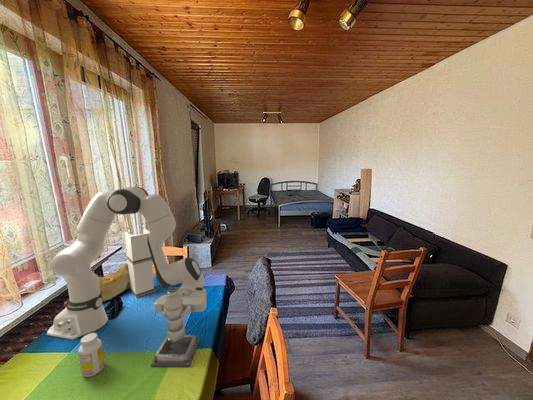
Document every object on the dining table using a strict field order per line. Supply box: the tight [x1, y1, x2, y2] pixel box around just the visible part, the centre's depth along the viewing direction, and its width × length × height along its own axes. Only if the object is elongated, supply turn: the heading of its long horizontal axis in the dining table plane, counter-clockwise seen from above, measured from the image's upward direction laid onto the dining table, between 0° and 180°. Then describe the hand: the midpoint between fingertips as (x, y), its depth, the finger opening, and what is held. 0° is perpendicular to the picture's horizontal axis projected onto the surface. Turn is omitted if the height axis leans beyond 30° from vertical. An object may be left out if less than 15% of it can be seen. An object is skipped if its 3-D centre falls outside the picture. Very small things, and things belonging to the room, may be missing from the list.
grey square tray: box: [150, 334, 201, 368], centre depth 92 cm, size 14×13×3 cm
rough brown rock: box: [98, 263, 130, 303], centre depth 136 cm, size 23×17×15 cm
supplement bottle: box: [77, 332, 105, 378], centre depth 84 cm, size 7×7×13 cm
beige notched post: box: [124, 228, 157, 299], centre depth 136 cm, size 11×11×35 cm
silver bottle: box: [164, 287, 186, 342], centre depth 90 cm, size 6×7×20 cm
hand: (173, 315), depth 89 cm, fingers closed on silver bottle, 5 cm apart
